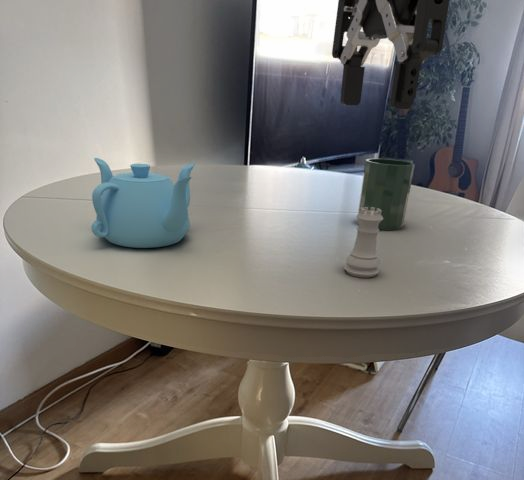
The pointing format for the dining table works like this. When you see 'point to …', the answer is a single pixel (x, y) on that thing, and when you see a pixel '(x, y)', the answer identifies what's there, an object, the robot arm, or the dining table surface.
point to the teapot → (141, 207)
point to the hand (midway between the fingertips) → (373, 106)
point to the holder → (387, 190)
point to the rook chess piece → (365, 245)
